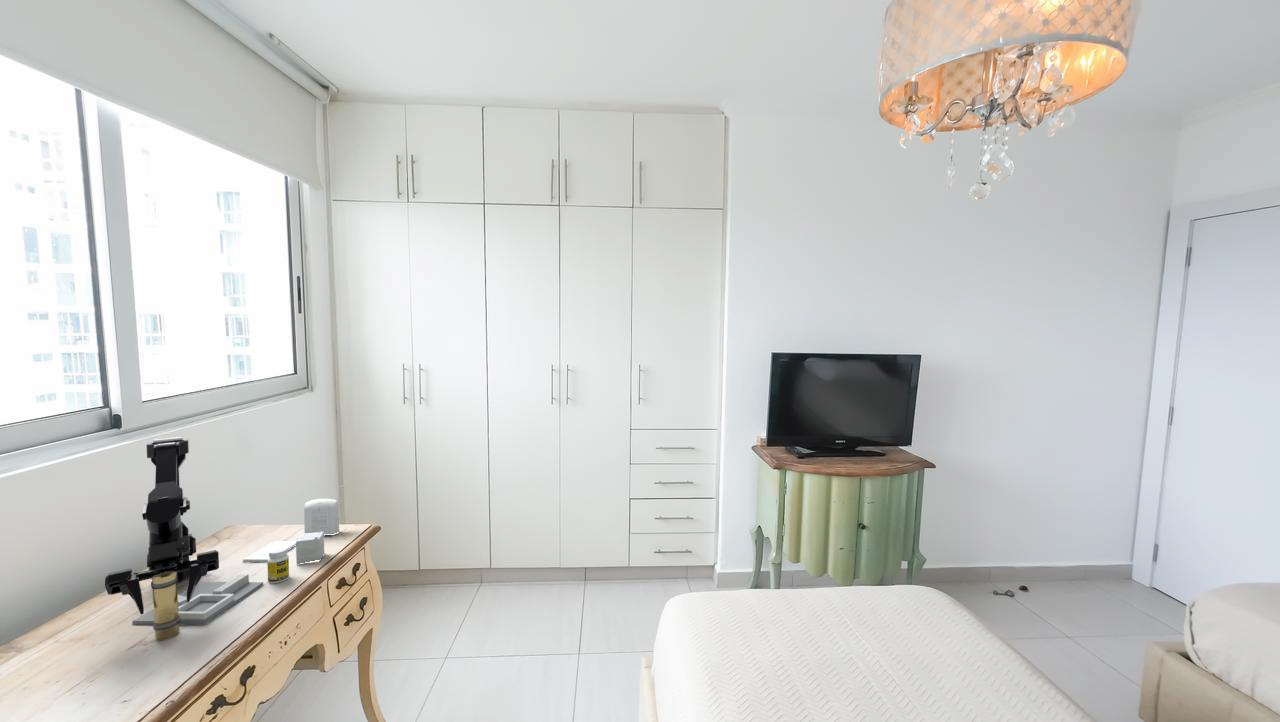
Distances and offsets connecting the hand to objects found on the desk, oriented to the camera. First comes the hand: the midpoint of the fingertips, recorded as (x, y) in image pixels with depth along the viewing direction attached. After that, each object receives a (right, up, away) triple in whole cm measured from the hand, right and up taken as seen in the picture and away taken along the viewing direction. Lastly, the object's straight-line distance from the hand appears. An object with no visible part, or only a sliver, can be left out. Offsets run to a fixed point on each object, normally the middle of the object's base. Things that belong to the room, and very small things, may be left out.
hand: (165, 607), depth 110 cm
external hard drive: (-8, -5, +43) cm, 44 cm away
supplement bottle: (+6, -6, +26) cm, 28 cm away
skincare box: (+7, -5, +38) cm, 39 cm away
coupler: (-1, -7, +1) cm, 7 cm away
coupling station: (-5, -6, +14) cm, 16 cm away
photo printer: (-1, -4, +56) cm, 57 cm away
